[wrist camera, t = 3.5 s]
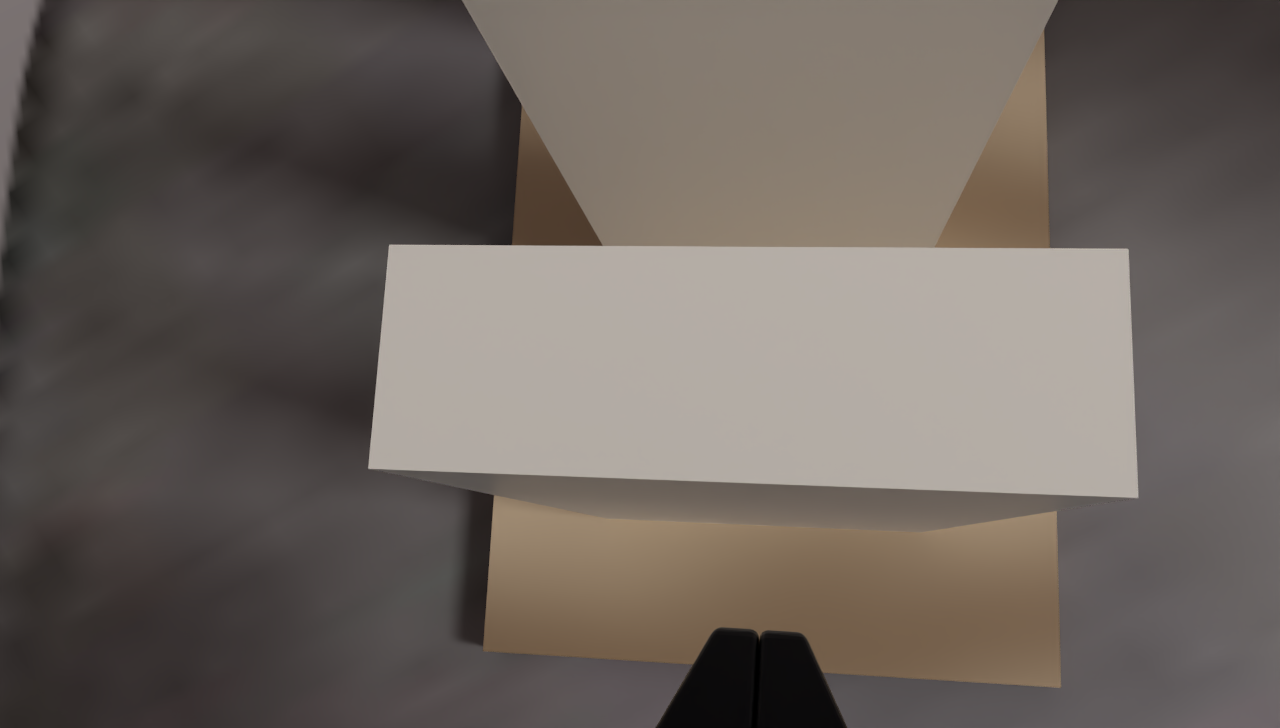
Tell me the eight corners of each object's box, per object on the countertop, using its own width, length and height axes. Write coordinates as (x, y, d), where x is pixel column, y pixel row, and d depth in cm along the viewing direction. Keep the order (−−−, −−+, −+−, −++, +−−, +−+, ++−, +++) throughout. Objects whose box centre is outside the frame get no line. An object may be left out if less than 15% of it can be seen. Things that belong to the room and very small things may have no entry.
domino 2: (919, 277, 17) (1111, -105, 7) (619, 274, 17) (416, -79, 8) (918, 184, 17) (1103, -308, 7) (623, 186, 18) (435, -263, 8)
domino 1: (920, 532, 16) (1138, 498, 6) (607, 518, 17) (369, 468, 7) (920, 431, 16) (1129, 249, 7) (613, 422, 17) (389, 243, 7)
